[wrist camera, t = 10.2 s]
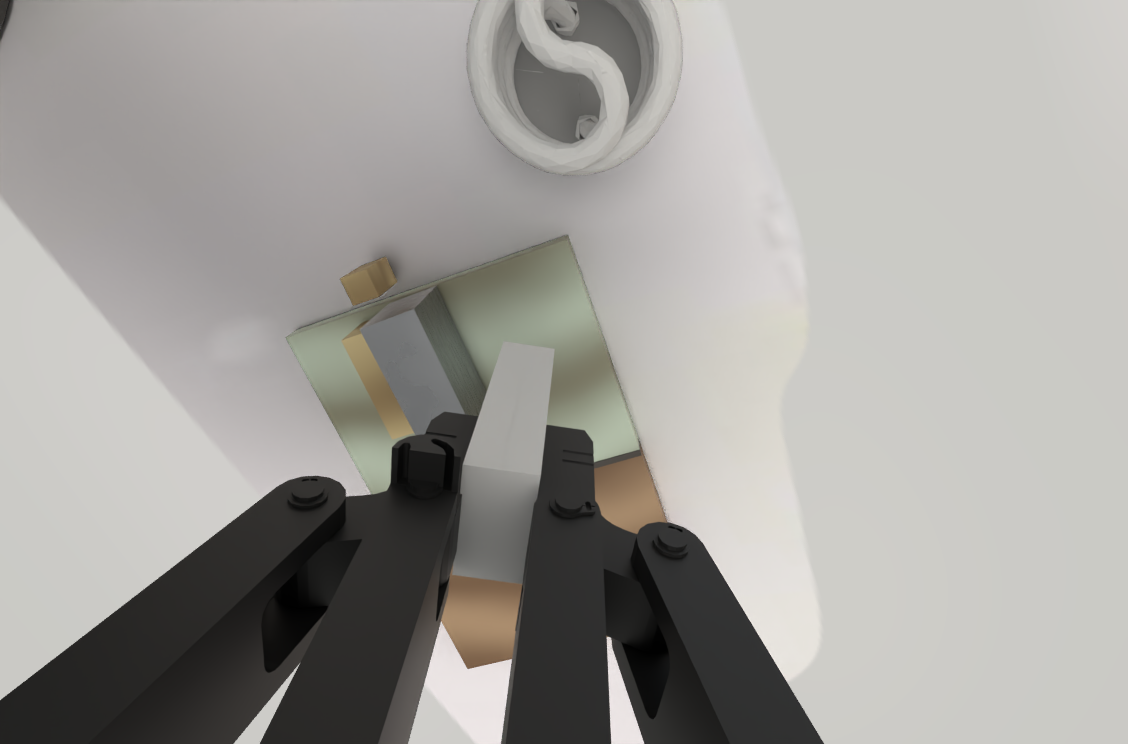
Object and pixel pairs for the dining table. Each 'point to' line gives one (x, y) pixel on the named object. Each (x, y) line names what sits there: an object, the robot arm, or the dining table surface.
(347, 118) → the dining table surface
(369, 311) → the door board
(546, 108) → the light bulb
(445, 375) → the bar
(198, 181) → the dining table surface
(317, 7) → the dining table surface
